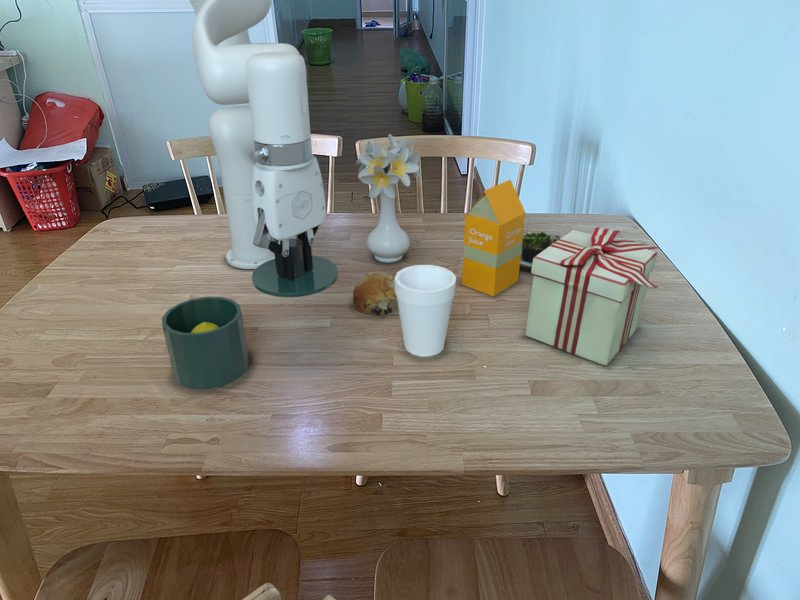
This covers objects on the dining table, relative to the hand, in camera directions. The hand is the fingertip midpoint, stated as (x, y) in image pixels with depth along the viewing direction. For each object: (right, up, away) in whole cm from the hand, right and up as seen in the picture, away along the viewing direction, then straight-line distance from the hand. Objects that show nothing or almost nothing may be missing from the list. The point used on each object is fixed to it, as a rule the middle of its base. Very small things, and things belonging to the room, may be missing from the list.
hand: (295, 271), depth 90 cm
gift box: (+48, -10, +12) cm, 51 cm away
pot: (-13, -15, +4) cm, 21 cm away
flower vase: (+14, +5, +39) cm, 42 cm away
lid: (0, -1, 0) cm, 1 cm away
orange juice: (+34, -1, +29) cm, 44 cm away
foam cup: (+20, -12, +9) cm, 25 cm away
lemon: (-13, -15, +4) cm, 20 cm away
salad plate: (+46, +5, +39) cm, 61 cm away
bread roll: (+12, -5, +21) cm, 25 cm away
